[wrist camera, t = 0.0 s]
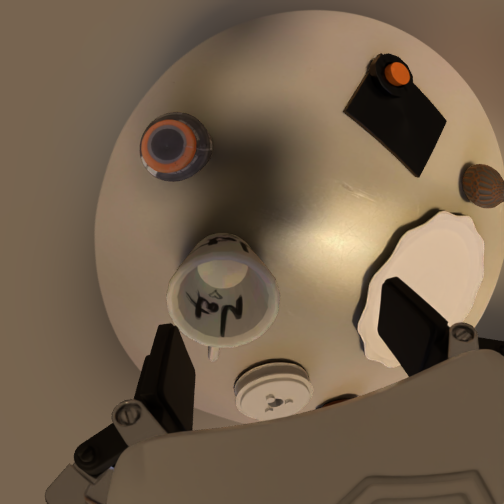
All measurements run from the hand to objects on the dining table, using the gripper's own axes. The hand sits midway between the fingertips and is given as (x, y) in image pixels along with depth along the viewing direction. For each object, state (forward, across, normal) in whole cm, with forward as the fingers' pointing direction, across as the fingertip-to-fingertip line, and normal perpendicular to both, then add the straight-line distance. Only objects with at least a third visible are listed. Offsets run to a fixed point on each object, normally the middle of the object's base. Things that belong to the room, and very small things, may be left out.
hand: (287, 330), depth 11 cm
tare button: (+20, -21, -16) cm, 33 cm away
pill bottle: (+22, +5, -9) cm, 24 cm away
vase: (+22, -37, 0) cm, 43 cm away
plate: (+22, -28, +18) cm, 40 cm away
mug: (+22, +4, +7) cm, 23 cm away
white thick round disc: (+22, +1, +29) cm, 36 cm away
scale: (+22, -22, -10) cm, 33 cm away
